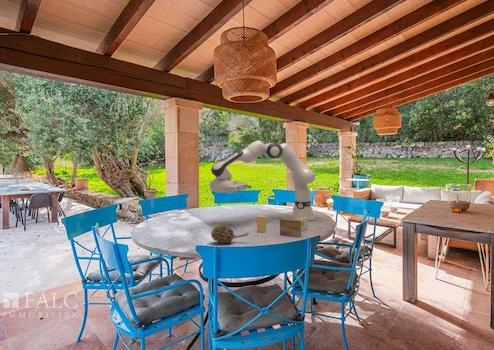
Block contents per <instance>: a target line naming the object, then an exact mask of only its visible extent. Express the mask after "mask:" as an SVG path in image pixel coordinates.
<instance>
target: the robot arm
mask: <svg viewBox="0 0 494 350" xmlns="http://www.w3.org/2000/svg"><path fill="white" fill-rule="evenodd" d="M261 155H262V156H263V157H265V158H267V159H277V158H280V160H281V161H282V162H283V164H284V165H285V166H286V168H287V169H288V170H289V171H290V172H291V173H290V178H291V179H292V182H293V185H294V189H295V191H294V193H295V195H294V197H295V200H294V206H293V207H292V215H291V216H290V219H295V220H299V219H302V218H304V217H307V221H315V219H316V215H315V214H314V213H313V211H314V210H313V208H312V205H311V203H312V200H311V190H310V188H309V186H308V185H309V184H312V183H313V182H315V180H316V174H315V171H313V170H312V169H310V168H309V167H308V165H306V164H305V163H304V162H303V161H302V160H301V159H300V157H299V156H298V155H297V153H296V151H294V149H293V148H292V147H291V146H290V145H289V144H287V143H286V142H283V143H280V144H277V143H274V142H270V143H269V142H268V143H264V142H263V141H261V140H259V139H258V140H255V141H253V142H251V143H250V144H249V145H246V147H244V148H243V149H238V150H236V151H233V152H232V153H230V154H229V155H228V156H226V157H224V158H222V159H221V160H220V161H217V162H215V163H214V164H213V165H212V167H211V170H210V171H211V174H212V175H213V176H215V178H214V179H212V180H210V182H209V184H208V185H209V188H210V190H211V191H212V192H215V193H222V194H223V193H225V194H234V193H235V192H238V191H239V192H240V191H245V190H248V189H252V188H253V187H252V185H249V184H248V183H246V182H240V181H238V180H237V181H236V180H232V173H231V172H230V170H229V169H228V167H229V166H230V165H231V164H233V163H235V162H238V161H240V162H242V163H245V164H250V163H252V162H254V161H255V160H256V159H258V158H259V156H261Z"/></svg>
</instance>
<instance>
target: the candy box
mask: <svg viewBox="0 0 494 350" xmlns="http://www.w3.org/2000/svg"><path fill="white" fill-rule="evenodd" d="M299 220H301V233H302V232H304V231H306V230H308V226H309V224H308V220H307V217H304V218H302V219H299Z"/></svg>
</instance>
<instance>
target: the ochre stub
mask: <svg viewBox="0 0 494 350" xmlns="http://www.w3.org/2000/svg"><path fill="white" fill-rule="evenodd" d="M256 231H257V232H258V233H266V232H267V216H266V215H257V216H256Z"/></svg>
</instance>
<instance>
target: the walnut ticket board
mask: <svg viewBox="0 0 494 350" xmlns="http://www.w3.org/2000/svg"><path fill="white" fill-rule="evenodd" d="M279 235H280V236H285V237H286V236H287V237H292V238H300V237H301V236H302V232H301V220H295V219H293V218H284V217H282V218H280V219H279Z"/></svg>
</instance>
